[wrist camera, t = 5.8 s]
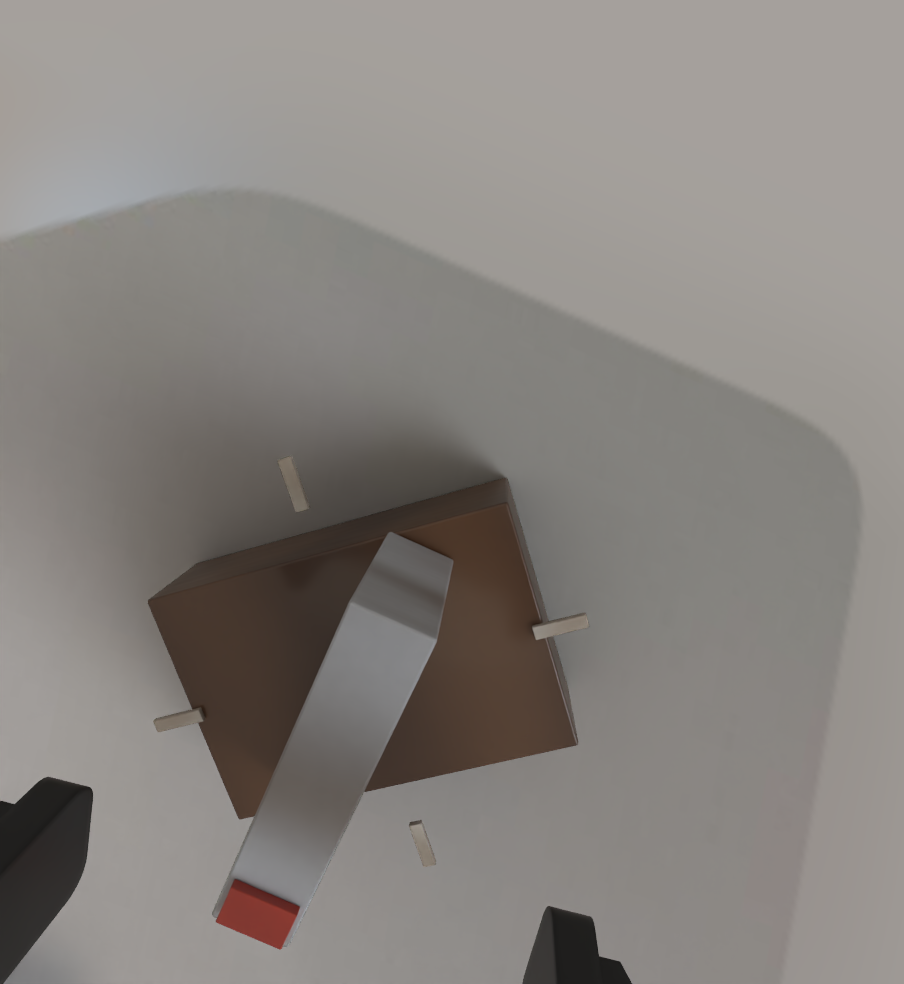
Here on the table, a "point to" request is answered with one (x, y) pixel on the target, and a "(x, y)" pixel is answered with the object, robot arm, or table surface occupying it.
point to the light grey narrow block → (337, 740)
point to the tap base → (313, 623)
